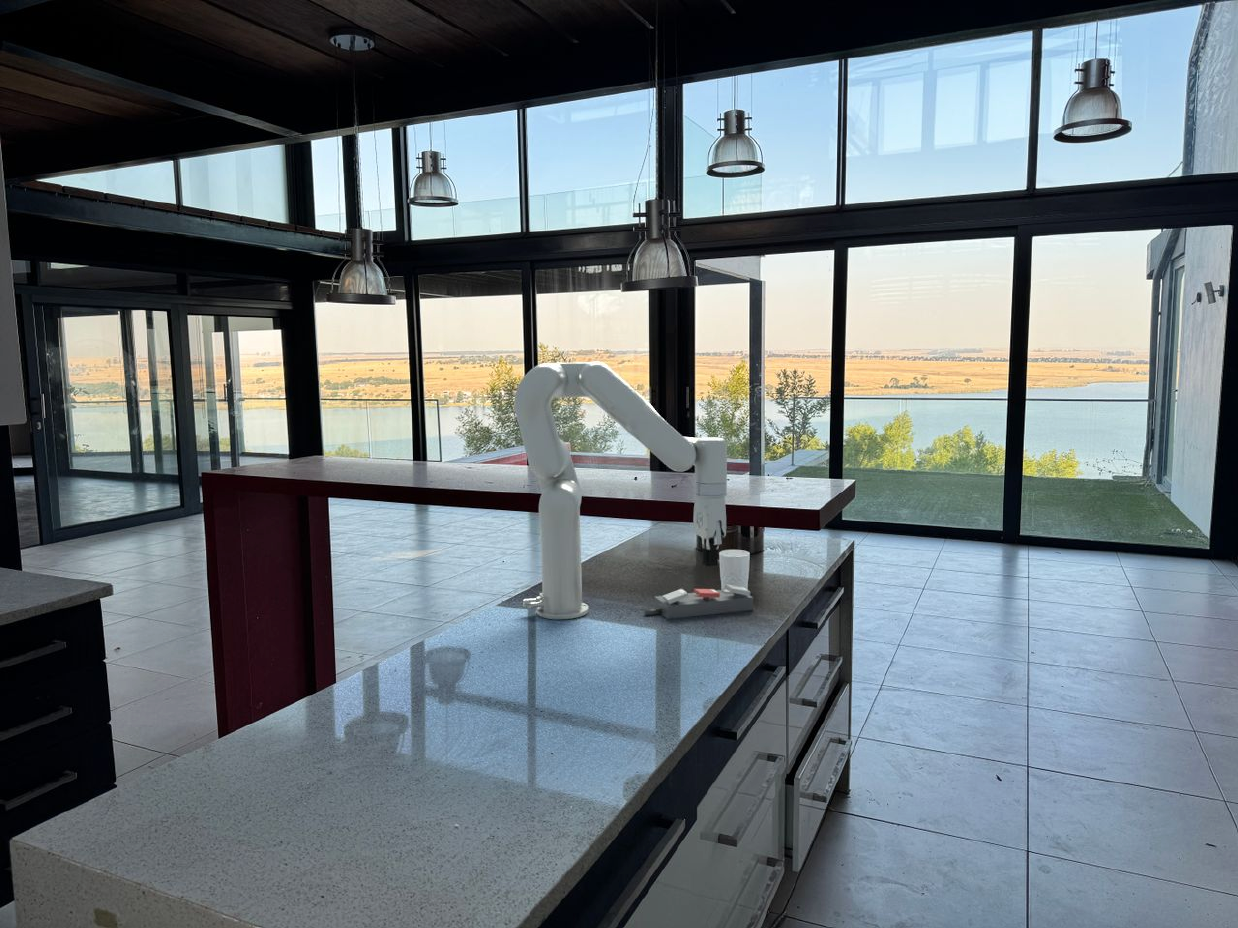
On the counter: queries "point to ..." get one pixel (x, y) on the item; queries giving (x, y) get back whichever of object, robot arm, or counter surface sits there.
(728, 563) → the white cup
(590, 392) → the robot arm
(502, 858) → the counter surface
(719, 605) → the power strip
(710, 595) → the outlet rocker
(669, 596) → the outlet rocker
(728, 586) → the rocker outlet
